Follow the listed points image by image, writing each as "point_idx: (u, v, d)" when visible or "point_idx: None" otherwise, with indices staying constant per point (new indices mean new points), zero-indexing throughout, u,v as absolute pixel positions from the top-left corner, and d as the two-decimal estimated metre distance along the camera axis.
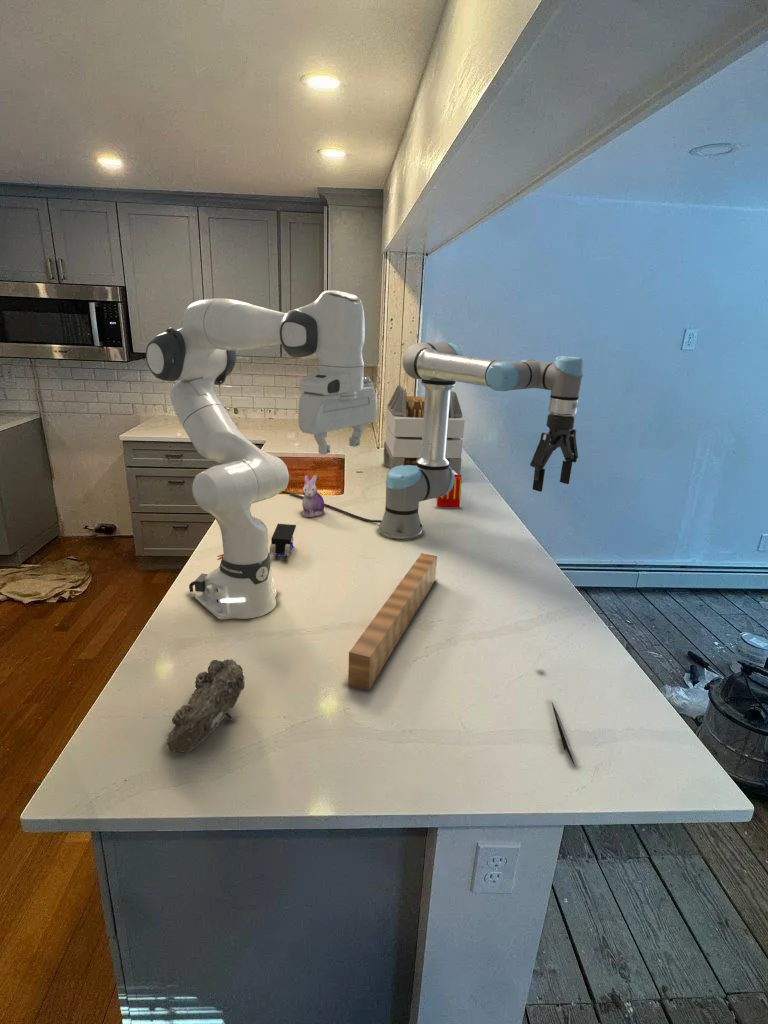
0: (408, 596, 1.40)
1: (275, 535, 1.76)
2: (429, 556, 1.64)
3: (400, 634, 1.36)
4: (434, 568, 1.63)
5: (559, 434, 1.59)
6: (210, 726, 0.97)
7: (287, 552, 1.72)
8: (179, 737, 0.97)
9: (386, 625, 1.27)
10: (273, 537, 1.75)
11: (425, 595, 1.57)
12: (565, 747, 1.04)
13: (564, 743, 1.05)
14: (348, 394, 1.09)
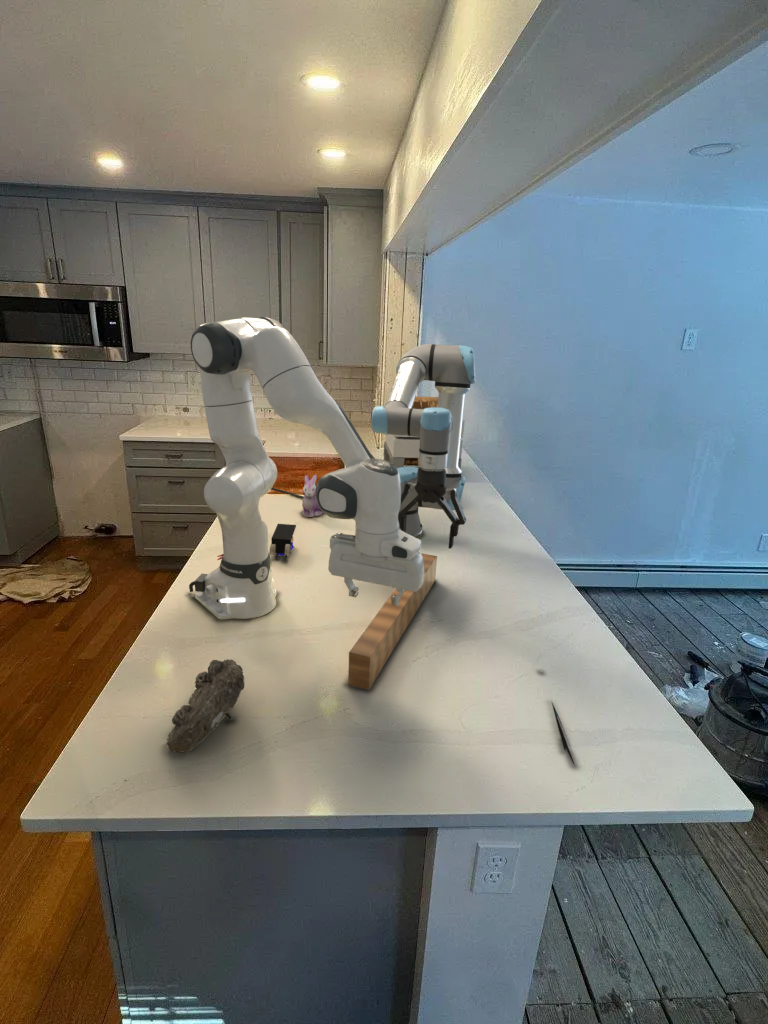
0: (408, 596, 1.40)
1: (275, 535, 1.76)
2: (429, 556, 1.64)
3: (400, 634, 1.36)
4: (434, 568, 1.63)
5: (425, 488, 1.50)
6: (210, 726, 0.97)
7: (287, 552, 1.72)
8: (179, 737, 0.97)
9: (386, 625, 1.27)
10: (273, 537, 1.75)
11: (425, 595, 1.57)
12: (565, 747, 1.04)
13: (564, 743, 1.05)
14: None
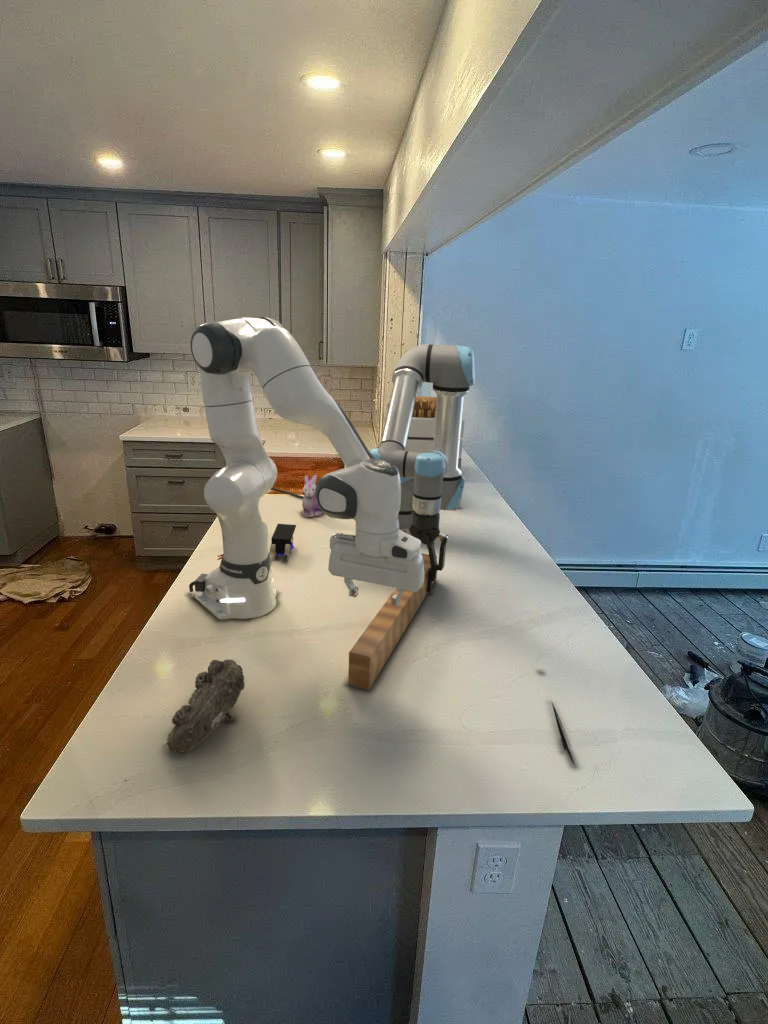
0: (408, 596, 1.40)
1: (275, 535, 1.76)
2: None
3: (400, 634, 1.36)
4: None
5: (419, 530, 1.54)
6: (210, 726, 0.97)
7: (287, 552, 1.72)
8: (179, 737, 0.97)
9: (386, 625, 1.27)
10: (273, 537, 1.75)
11: (425, 595, 1.57)
12: (565, 747, 1.04)
13: (564, 743, 1.05)
14: None
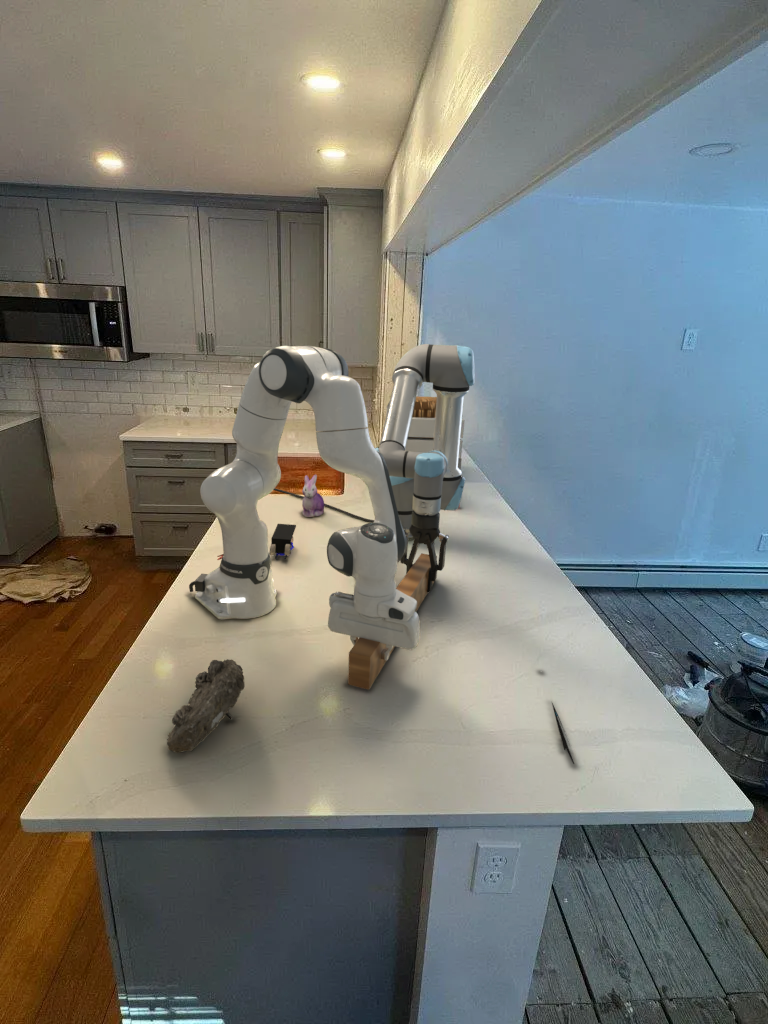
0: None
1: (275, 535, 1.76)
2: None
3: None
4: None
5: (419, 530, 1.54)
6: (210, 726, 0.97)
7: (287, 552, 1.72)
8: (179, 737, 0.97)
9: None
10: (273, 537, 1.75)
11: (425, 595, 1.57)
12: (565, 747, 1.04)
13: (564, 743, 1.05)
14: None
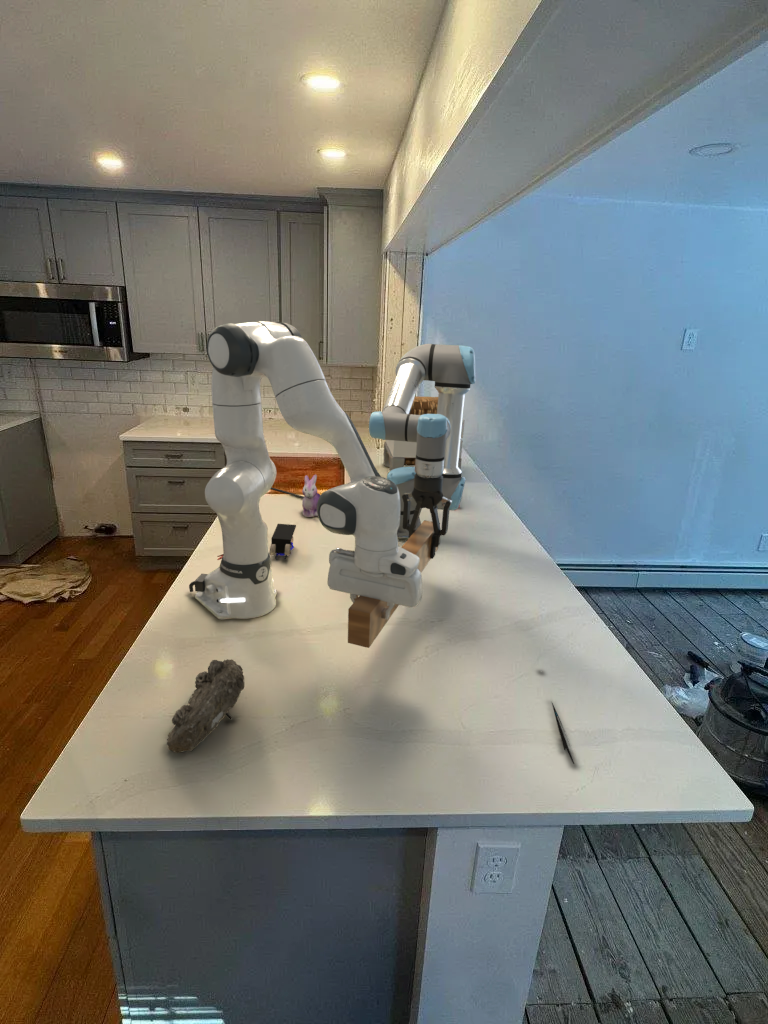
0: None
1: (275, 535, 1.76)
2: None
3: None
4: None
5: (421, 494, 1.50)
6: (210, 726, 0.97)
7: (287, 552, 1.72)
8: (179, 737, 0.97)
9: None
10: (273, 537, 1.75)
11: (428, 561, 1.54)
12: (565, 747, 1.04)
13: (564, 743, 1.05)
14: None
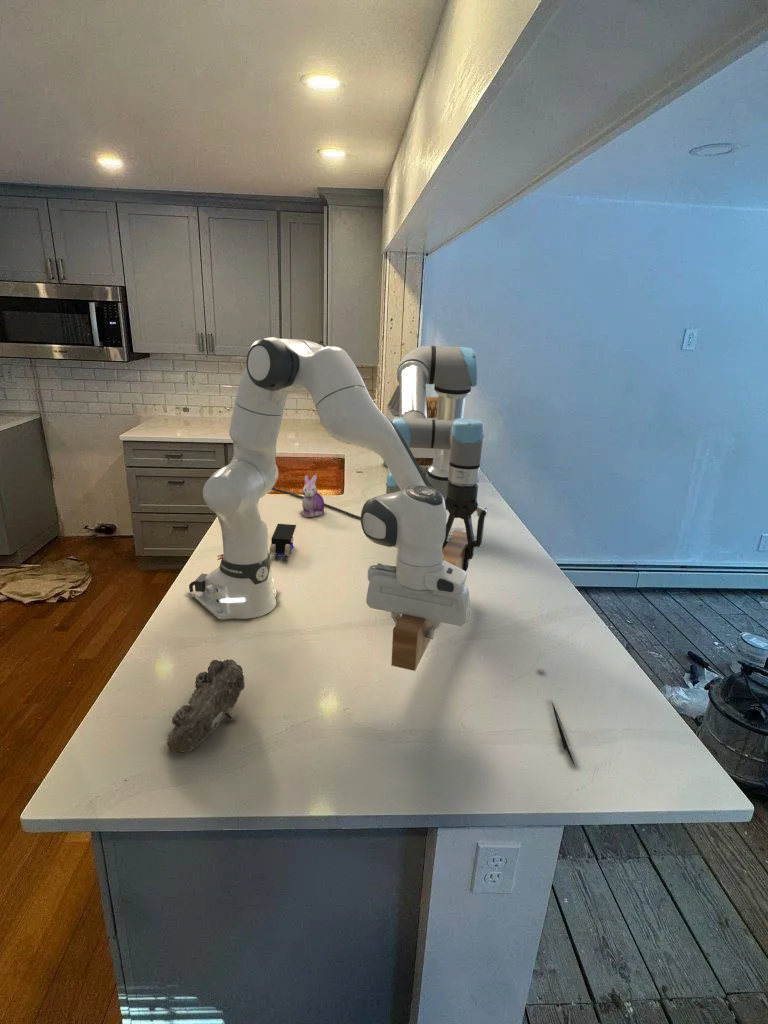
0: None
1: (275, 535, 1.76)
2: (464, 533, 1.52)
3: None
4: None
5: (455, 503, 1.42)
6: (210, 726, 0.97)
7: (287, 552, 1.72)
8: (179, 737, 0.97)
9: None
10: (273, 537, 1.75)
11: None
12: (565, 747, 1.04)
13: (564, 743, 1.05)
14: None
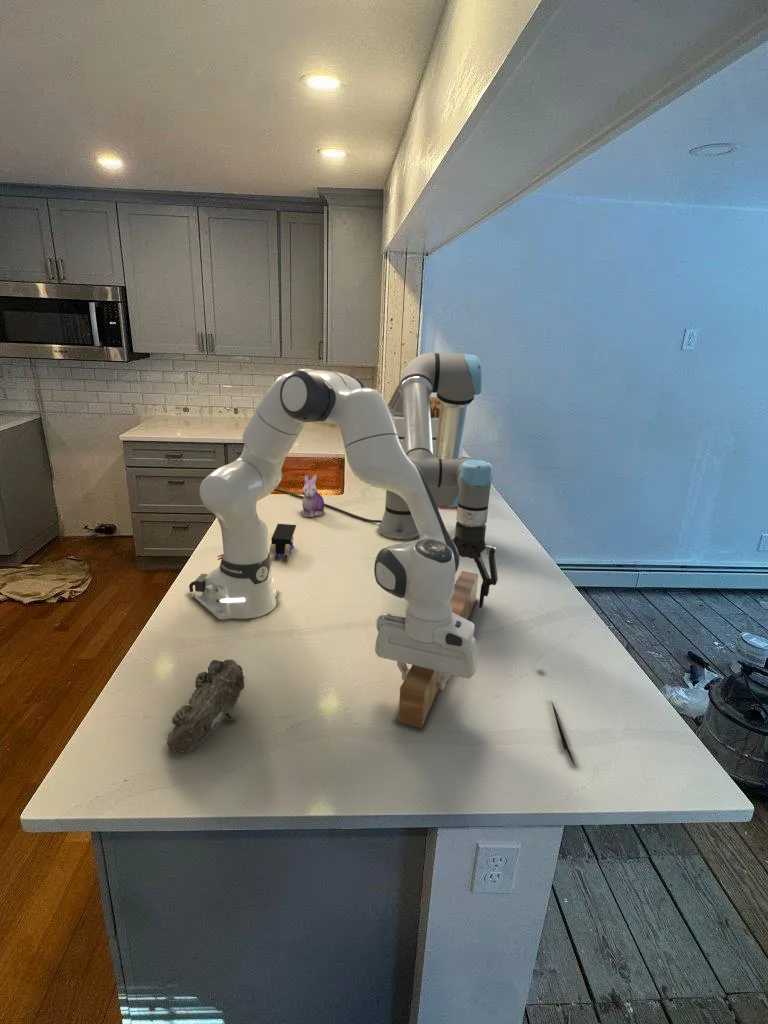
0: None
1: (275, 535, 1.76)
2: (471, 574, 1.53)
3: None
4: (476, 587, 1.53)
5: (463, 543, 1.43)
6: (210, 726, 0.97)
7: (287, 552, 1.72)
8: (179, 737, 0.97)
9: None
10: (273, 537, 1.75)
11: None
12: (565, 747, 1.04)
13: (564, 743, 1.05)
14: None
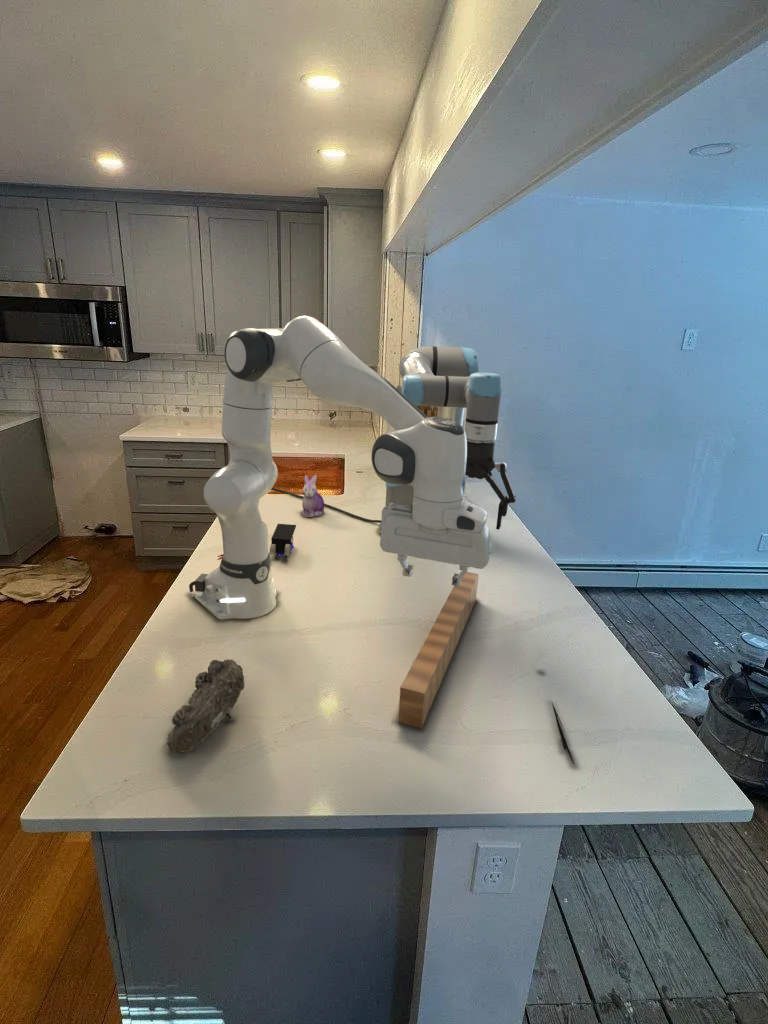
0: (455, 621, 1.30)
1: (275, 535, 1.76)
2: (471, 574, 1.53)
3: (448, 662, 1.26)
4: (476, 587, 1.53)
5: (471, 462, 1.36)
6: (210, 726, 0.97)
7: (287, 552, 1.72)
8: (179, 737, 0.97)
9: (437, 655, 1.17)
10: (273, 537, 1.75)
11: None
12: (565, 747, 1.04)
13: (564, 743, 1.05)
14: None
